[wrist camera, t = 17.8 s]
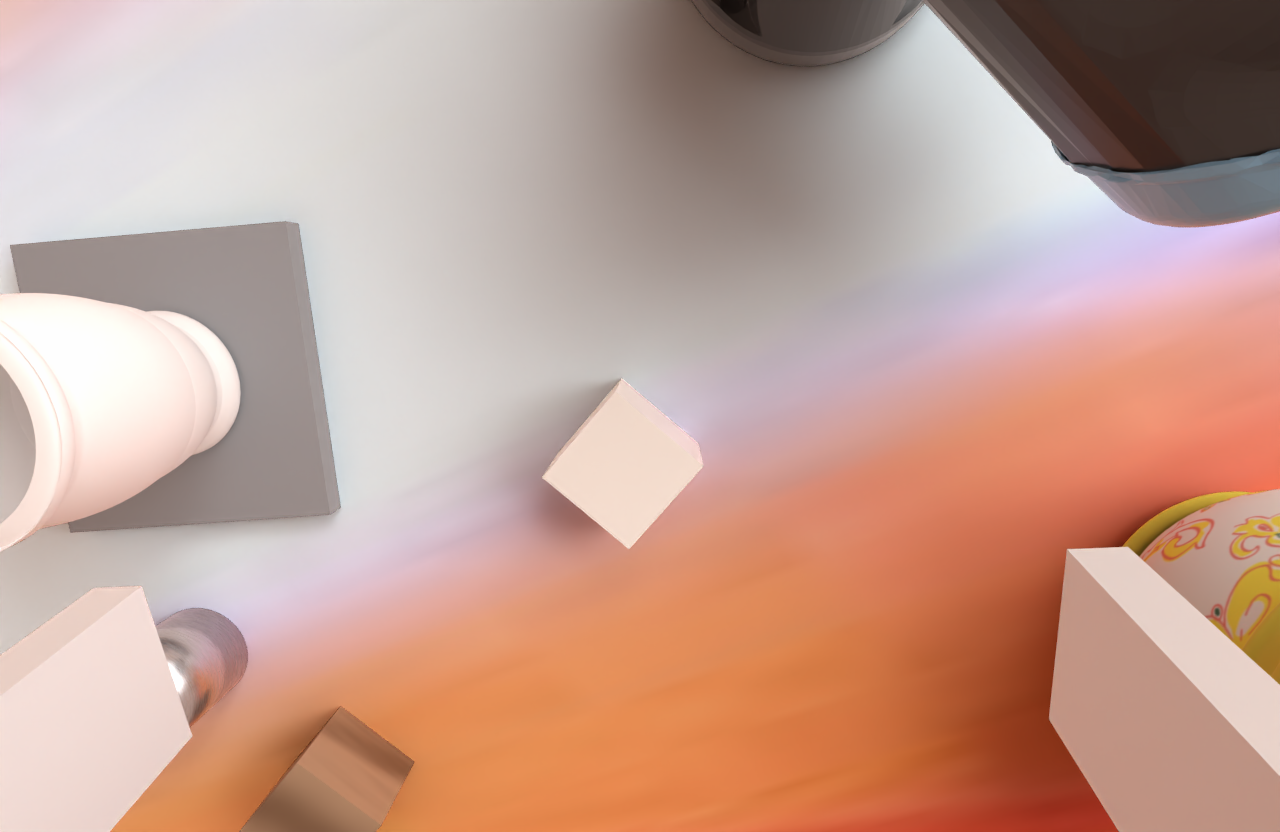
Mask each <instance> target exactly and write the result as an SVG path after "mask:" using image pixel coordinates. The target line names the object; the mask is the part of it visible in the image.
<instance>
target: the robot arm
mask: <svg viewBox="0 0 1280 832" xmlns="http://www.w3.org/2000/svg"><path fill="white" fill-rule="evenodd" d="M692 2H693V3H694V5H695V6H696V8H697V9H698V11H699V12H700V13H701V14H702V16H703V17H704V18H705V19H706V21H707V22H708V23H709V24H710V25H711V26H712V27H713V28H714V29H715V30H716V31H717V32H718V33H720V34H721V35H722V36H723V37H724V38H726V39H727V40H728V41H729V42H731V43H733V44H734V45H736V46H737V47H739V48H740V49H742V50H744V51H746V52H748V53H750V54H752V55H754V56H757V57H759V58H762V59H765V60H768V61H772V62H775V63H780V64H786V65H794V66H817V65H825V64H831V63H836V62H840V61H843V60H847V59H850V58H852V57H855V56H858V55H860V54H862V53H864V52H866V51H869V50H870V49H872V48H874V47H876V46H878V45H879V44H881V43H882V42H884V41H885V40H887V39H888V38H889V37H891V36H892V35H893V34H895V33H896V32H897V31H898V30H899V29H900V28H902V27H903V26H904V25H905V24H906V23H907V22H908V21H909V20H910V19H911V18H912V17H913V16H914V14H915V13H916V12H917V11H918V10H919V9H920V8H921V7H922V6H923V5H924V3H925V4H926V5H927V6H928V7H929V8H930V9H931V10H932V12H933V13H934V14H935V15H936V16H937V17H938V18H939V19H940V20H941V21H942V22H943V23H944V25H945V26H946V27H947V28H948V29H949V30H950V31H951V32H952V33H953V34H954V35H955V37H956V38H957V39H958V40H959V41H960V42H961V43H962V44H963V45H964V46H965V47H966V48H967V50H968V51H969V52H970V53H971V54H972V55H973V56H974V57H975V58H976V59H977V60H978V61H979V63H980V64H981V65H982V66H983V67H984V68H985V69H986V70H987V71H988V72H989V73H990V75H991V76H992V77H993V78H994V79H995V80H996V81H997V82H998V83H999V84H1000V85H1001V86H1002V88H1003V89H1004V90H1005V91H1006V92H1007V93H1008V94H1009V95H1010V96H1011V97H1012V98H1013V99H1014V101H1015V102H1016V103H1017V104H1018V105H1019V106H1020V107H1021V108H1022V109H1023V110H1024V111H1025V113H1026V114H1027V115H1028V116H1029V117H1030V118H1031V119H1032V120H1033V121H1034V122H1035V123H1036V124H1037V126H1038V127H1039V128H1040V129H1041V130H1042V131H1043V132H1044V133H1045V134H1046V135H1047V136H1048V137H1049V139H1050V140H1051V143H1052V146H1053V148H1054V150H1055V153H1056V154H1057V155H1058V156H1059V158H1060V159H1061V160H1062V161H1063V162H1064V163H1065V164H1066V165H1070V166H1071V167H1072V168H1073V169H1074V171H1076V172H1078V173H1081V174H1083V175H1085V176H1087V177H1088V178H1089V179H1091V180H1092V181H1093V182H1094V183H1095V184H1096V185H1097V186H1098V187H1099V188H1100V189H1101V190H1102V191H1103V192H1104V193H1105V194H1106V195H1107V196H1108V197H1109V198H1110V199H1111V200H1112V201H1113V202H1114V203H1115V204H1116V205H1117V206H1118V207H1119V208H1121V209H1122V210H1123V211H1125V212H1127V213H1129V214H1130V215H1132V216H1135V217H1137V218H1139V219H1141V220H1143V221H1146V222H1150V223H1152V224H1157V225H1164V226H1172V227H1205V226H1215V225H1222V224H1229V223H1234V222H1239V221H1244V220H1248V219H1253V218H1257V217H1261V216H1265V215H1268V214H1272V213H1276V212H1279V211H1280V0H692ZM1049 720H1050V722H1051V724H1052V725H1053V727H1054V728H1055V730H1056V732H1057V733H1058V735H1059V736H1060V738H1061V740H1062V741H1063V743H1064V744H1065V746H1066V748H1067V749H1068V751H1069V752H1070V754H1071V756H1072V757H1073V759H1074V760H1075V762H1076V764H1077V765H1078V767H1079V769H1080V770H1081V772H1082V773H1083V775H1084V777H1085V778H1086V780H1087V781H1088V783H1089V785H1090V786H1091V788H1092V789H1093V791H1094V793H1095V794H1096V796H1097V797H1098V799H1099V801H1100V802H1101V804H1102V805H1103V807H1104V809H1105V810H1106V812H1107V813H1108V815H1109V817H1110V818H1111V820H1112V821H1113V823H1114V825H1115V826H1116V828H1117V829H1118V831H1119V832H1280V685H1279V684H1278V683H1277V682H1276V681H1275V680H1274V679H1273V678H1272V677H1271V676H1269V675H1268V674H1267V673H1266V672H1265V671H1264V670H1263V669H1262V668H1261V667H1260V666H1258V665H1257V664H1256V663H1255V662H1254V661H1253V660H1252V659H1251V658H1250V657H1249V656H1247V655H1246V654H1245V653H1244V652H1243V651H1242V650H1241V649H1240V648H1239V647H1238V646H1237V645H1235V644H1234V643H1233V642H1232V641H1231V640H1230V639H1229V638H1228V637H1227V636H1226V635H1224V634H1223V633H1222V632H1221V631H1220V630H1219V629H1218V628H1217V627H1216V626H1215V625H1213V624H1212V623H1211V622H1210V621H1209V620H1208V619H1207V618H1206V617H1205V616H1204V615H1202V614H1201V613H1200V612H1199V611H1198V610H1197V609H1196V608H1195V607H1194V606H1193V605H1191V604H1190V603H1189V602H1188V601H1187V600H1186V599H1185V598H1184V597H1183V596H1182V595H1180V594H1179V593H1178V592H1177V591H1176V590H1175V589H1174V588H1173V587H1172V586H1171V585H1169V584H1168V583H1167V582H1166V581H1165V580H1164V579H1163V578H1162V577H1161V576H1160V575H1158V574H1157V573H1156V572H1155V571H1154V570H1153V569H1152V568H1151V567H1150V566H1149V565H1147V564H1146V563H1145V562H1144V561H1143V560H1142V559H1141V558H1140V557H1139V556H1138V555H1136V554H1135V553H1134V552H1133V551H1132V550H1131V549H1130V548H1129V547H1109V548H1084V549H1067V553H1066V563H1065V572H1064V581H1063V591H1062V600H1061V610H1060V619H1059V628H1058V638H1057V647H1056V657H1055V666H1054V675H1053V685H1052V694H1051V703H1050V713H1049ZM191 737H192V733H191V730H190V727H189V725H188V722H187V719H186V716H185V713H184V710H183V707H182V704H181V701H180V698H179V695H178V692H177V689H176V686H175V683H174V680H173V677H172V674H171V671H170V668H169V665H168V662H167V659H166V656H165V654H164V651H163V648H162V645H161V642H160V639H159V636H158V633H157V630H156V627H155V624H154V621H153V618H152V615H151V612H150V609H149V606H148V603H147V600H146V597H145V594H144V591H143V588H142V586H126V587H100V588H93V589H91V590H90V591H89V592H87V593H86V594H84V595H83V596H82V597H80V598H79V599H78V600H76V601H75V602H73V603H72V604H71V605H69V606H68V607H66V608H65V609H64V610H62V611H61V612H59V613H58V614H57V615H55V616H54V617H53V618H51V619H50V620H48V621H47V622H46V623H44V624H43V625H41V626H40V627H39V628H37V629H36V630H34V631H33V632H32V633H30V634H29V635H28V636H26V637H25V638H23V639H22V640H21V641H19V642H18V643H16V644H15V645H14V646H12V647H11V648H9V649H8V650H7V651H5V652H4V653H3V654H1V655H0V832H110V831H111V830H112V828H113V827H114V826H115V825H116V824H117V823H118V822H119V820H120V819H121V818H122V817H123V816H124V815H125V813H126V812H127V811H128V810H129V809H130V808H131V807H132V805H133V804H134V803H135V802H136V801H137V800H138V798H139V797H140V796H141V795H142V794H143V793H144V791H145V790H146V789H147V788H148V787H149V786H150V785H151V783H152V782H153V781H154V780H155V779H156V778H157V776H158V775H159V774H160V773H161V772H162V771H163V770H164V768H165V767H166V766H167V765H168V764H169V763H170V761H171V760H172V759H173V758H174V757H175V756H176V755H177V753H178V752H179V751H180V750H181V749H182V748H183V746H184V745H185V744H186V743H187V742H188V741H189V739H190V738H191Z"/></svg>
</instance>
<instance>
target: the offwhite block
mask: <svg viewBox="0 0 1280 832" xmlns="http://www.w3.org/2000/svg"><path fill="white" fill-rule="evenodd" d="M702 467H703V461H702V457H701V452H700V448H699V444H698V442H696V441H695V440H694V439H693V438H692V437H691V436H689V435H688V434H687V433H686V432H685V431H683V430H682V429H681V428H680V427H679V426H678V425H676V424H675V423H674V422H673V421H672V420H671V419H669V418H668V417H667V416H666V415H665V414H663V413H662V412H661V411H660V410H659V409H658V408H656V407H655V406H654V405H653V404H652V403H650V402H649V401H648V400H647V399H646V398H645V397H643V396H642V395H641V394H640V393H639V392H638V391H636V390H635V389H634V388H633V387H632V386H630V385H629V384H628V383H627V382H626V381H625V380H623V379H622V378H621V380H620V381H619V382H618V383H617V384H616V385H615V387H614V388H613V389H612V390H611V391H610V393H609V394H608V395H607V396H606V397H605V398H604V400H603V401H602V402H601V403H600V404H599V405H598V407H597V408H596V409H595V410H594V411H593V412H592V414H591V415H590V416H589V417H588V418H587V419H586V421H585V422H584V423H583V424H582V425H581V426H580V428H579V429H578V430H577V431H576V432H575V433H574V435H573V436H572V437H571V438H570V439H569V440H568V442H567V443H566V444H565V445H564V446H563V448H562V449H561V450H560V451H559V452H558V453H557V455H556V456H555V458H554V460H553V461H552V463H551V464H550V466H549V467H548V469H547V471H546V472H545V474H544V475H543V477H542V478H543V479H544V480H546V481H547V482H548V483H549V484H550V485H552V486H553V487H554V488H555V489H557V490H558V491H559V492H560V493H561V494H563V495H564V496H565V497H566V498H567V499H569V500H570V501H571V502H572V503H574V504H575V505H576V506H577V507H578V508H580V509H581V510H582V511H583V512H584V513H586V514H587V515H588V516H589V517H591V518H592V519H593V520H594V521H595V522H597V523H598V524H599V525H600V526H601V527H603V528H604V529H605V530H606V531H607V532H609V533H610V534H611V535H612V536H614V537H615V538H616V539H617V540H618V541H620V542H621V543H622V544H623V545H624V546H626V547H627V548H628V549H630V548H631V547H632V546H633V544H634V543H635V542H636V541H637V540H638V539H639V538H640V537H641V535H642V534H643V533H644V532H645V531H646V530H647V529H648V528H649V527H650V525H651V524H652V523H653V522H654V521H655V520H656V519H657V518H658V516H659V515H660V514H661V513H662V512H663V511H664V510H665V509H666V508H667V506H668V505H669V504H670V503H671V502H672V501H673V500H674V499H675V498H676V496H677V495H678V494H679V493H680V492H681V491H682V490H683V489H684V487H685V486H686V485H687V484H688V483H689V482H690V481H691V480H692V479H693V477H694V476H695V475H696V474H697V473H698V472H699V471H700V470H701V468H702Z"/></svg>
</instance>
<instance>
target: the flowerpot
mask: <svg viewBox="0 0 1280 832" xmlns="http://www.w3.org/2000/svg"><path fill="white" fill-rule="evenodd" d="M1122 547H1129V548H1130V549H1131V550H1132V551H1133V552H1134V553H1135V554H1136V555H1138V556H1139V557H1140V558H1141V559H1142V560H1143V561H1144V562H1145V563H1146V564H1147V565H1149V566H1150V567H1151V568H1152V569H1153V570H1154V571H1155V572H1156V573H1157V574H1158V575H1160V576H1161V577H1162V578H1163V579H1164V580H1165V581H1166V582H1167V583H1168V584H1169V585H1171V586H1172V587H1173V588H1174V589H1175V590H1176V591H1177V592H1178V593H1179V594H1180V595H1182V596H1183V597H1184V598H1185V599H1186V600H1187V601H1188V602H1189V603H1190V604H1191V605H1193V606H1194V607H1195V608H1196V609H1197V610H1198V611H1199V612H1200V613H1201V614H1202V615H1204V616H1205V617H1206V618H1207V619H1208V620H1209V621H1210V622H1211V623H1212V624H1213V625H1215V626H1216V627H1217V628H1218V629H1219V630H1220V631H1221V632H1222V633H1223V634H1224V635H1226V636H1227V637H1228V638H1229V639H1230V640H1231V641H1232V642H1233V643H1234V644H1235V645H1237V646H1238V647H1239V648H1240V649H1241V650H1242V651H1243V652H1244V653H1245V654H1246V655H1247V656H1249V657H1250V658H1251V659H1252V660H1253V661H1254V662H1255V663H1256V664H1257V665H1258V666H1260V667H1261V668H1262V669H1263V670H1264V671H1265V672H1266V673H1267V674H1268V675H1269V676H1271V677H1272V678H1273V679H1274V680H1275V681H1276V682H1277V683H1278V684H1279V685H1280V489H1275V490H1267V491H1260V492H1254V493H1251V492H1219V493H1212V494H1207V495H1202V496H1198V497H1195V498H1191V499H1188V500H1186V501H1183V502H1180V503H1178V504H1176V505H1174V506H1172V507H1170V508H1168V509H1166V510H1164V511H1162V512H1161V513H1159V514H1157V515H1156V516H1154V517H1153V518H1152V519H1150V520H1149V521H1147V522H1146V523H1145V524H1144V525H1142V526H1141V527H1140V528H1139V529H1138V530H1137V531H1136V532H1135V533H1134V534H1133V535H1132V536H1131V537H1130V538H1129V539H1128V540H1127V541H1126V542H1125V543H1124V545H1123V546H1122Z"/></svg>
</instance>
